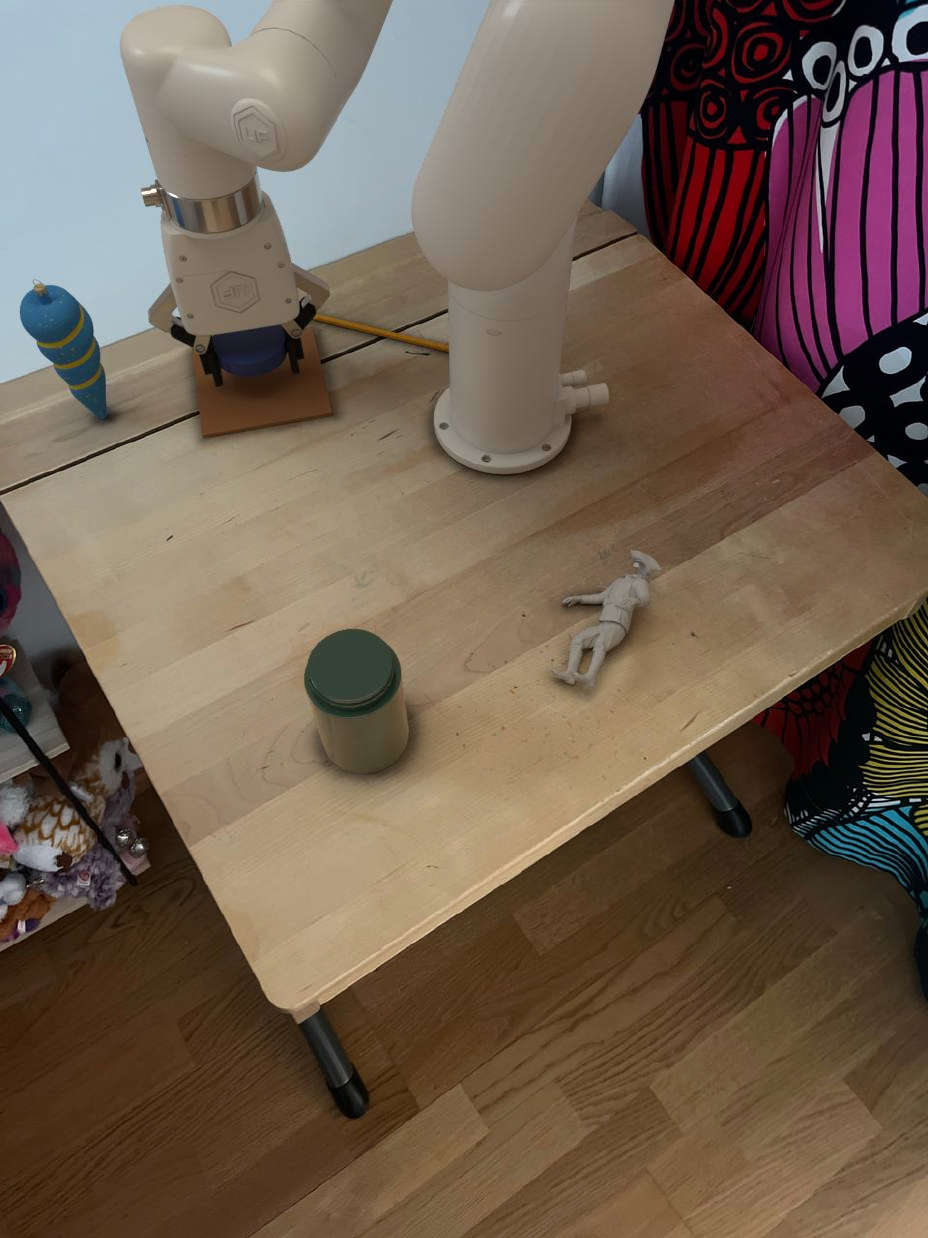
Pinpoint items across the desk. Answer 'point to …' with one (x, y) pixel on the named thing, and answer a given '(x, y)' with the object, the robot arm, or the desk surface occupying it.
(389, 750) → the jar
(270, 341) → the jar lid
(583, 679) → the soldier figure
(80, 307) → the ornament
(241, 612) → the desk surface
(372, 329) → the pencil
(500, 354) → the robot arm
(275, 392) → the mat
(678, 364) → the desk surface
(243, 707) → the desk surface
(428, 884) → the desk surface
